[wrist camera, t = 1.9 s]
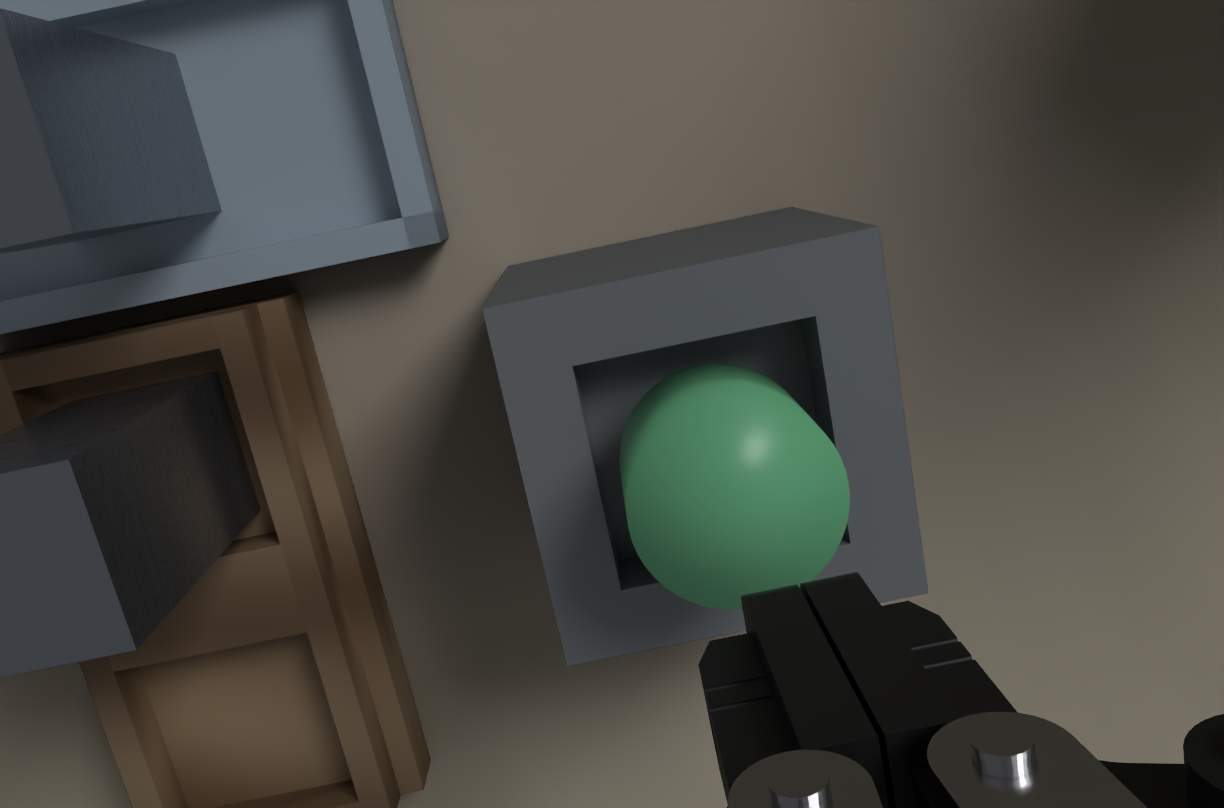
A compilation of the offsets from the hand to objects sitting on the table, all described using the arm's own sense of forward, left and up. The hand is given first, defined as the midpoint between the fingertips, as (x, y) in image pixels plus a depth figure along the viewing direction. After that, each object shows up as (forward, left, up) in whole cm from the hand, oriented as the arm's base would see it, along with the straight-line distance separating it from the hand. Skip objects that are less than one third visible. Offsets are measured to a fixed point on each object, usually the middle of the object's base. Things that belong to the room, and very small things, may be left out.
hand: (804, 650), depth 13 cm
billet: (-9, -13, -16) cm, 22 cm away
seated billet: (-1, -14, -15) cm, 20 cm away
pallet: (+3, -14, -16) cm, 22 cm away
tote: (-9, -13, -16) cm, 23 cm away
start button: (0, 0, -8) cm, 8 cm away
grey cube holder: (0, 0, -16) cm, 16 cm away
